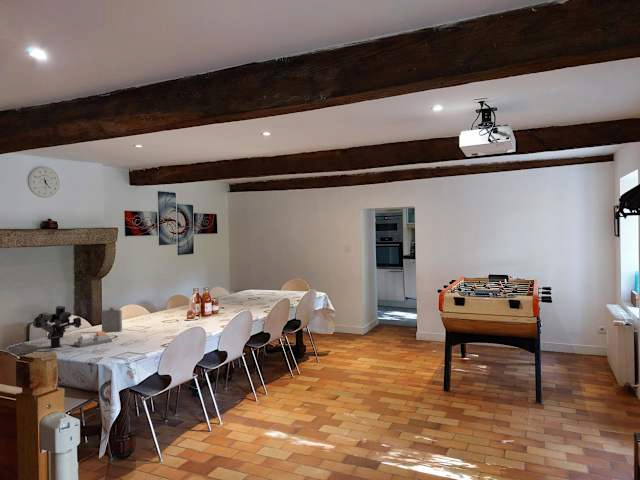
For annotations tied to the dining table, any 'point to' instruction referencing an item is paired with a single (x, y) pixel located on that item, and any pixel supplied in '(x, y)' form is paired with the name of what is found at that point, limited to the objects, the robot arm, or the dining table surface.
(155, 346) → the dining table surface
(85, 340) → the key panel
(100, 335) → the key terracotta
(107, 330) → the hip flask
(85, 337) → the key ivory
